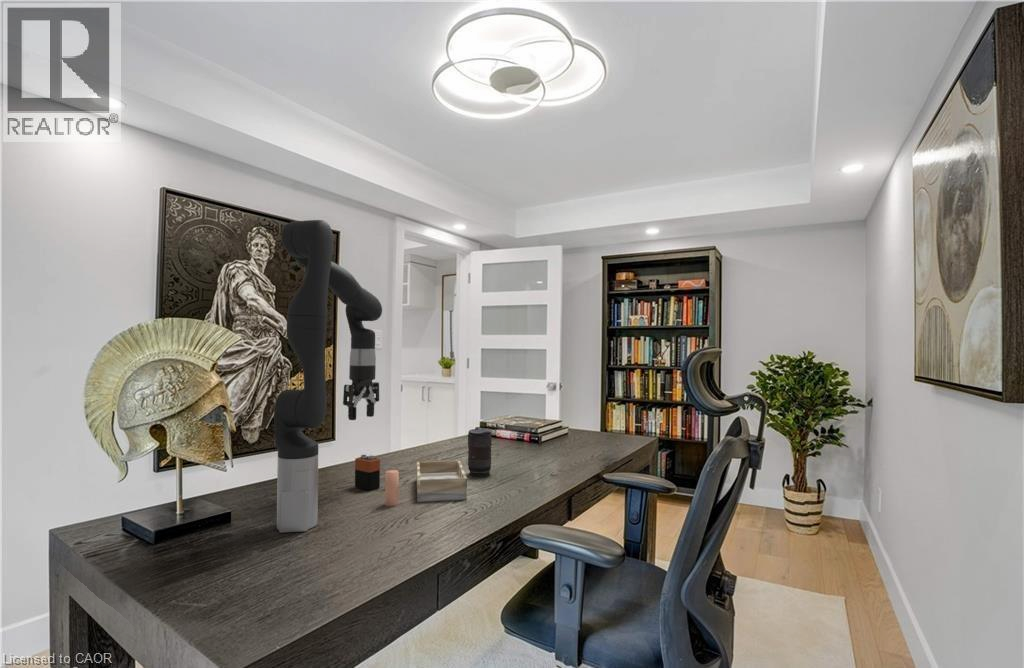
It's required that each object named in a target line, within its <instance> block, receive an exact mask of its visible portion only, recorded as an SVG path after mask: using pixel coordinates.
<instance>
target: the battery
mask: <svg viewBox="0 0 1024 668" xmlns="http://www.w3.org/2000/svg"><path fill="white" fill-rule="evenodd" d="M380 469H381V459H380V458H378V457H376V456H375V455H368V456H367V454H361V455H360V457H357V458H355V459H354V487H355V488H356V489H360V490H364V491H368V492H370V491H373V490H376V489H380V487H381V485H380V483H381V476H380V475H381V473H380V472H381V470H380Z"/></svg>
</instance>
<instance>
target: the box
mask: <svg viewBox="0 0 1024 668" xmlns="http://www.w3.org/2000/svg"><path fill="white" fill-rule="evenodd" d="M467 492H468V477H467V476H466V472H465V470H464V466H463V464H462V461H461V460H441V461H440V460H436V461H435V460H434V461H433V460H432V461H416V497H417V498H416V500H417V501H416V502H417V503H420V502H423V503H424V502H440V501H457V500H459V501H460V500H467V499H468V495H467V494H468V493H467Z"/></svg>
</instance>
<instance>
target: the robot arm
mask: <svg viewBox="0 0 1024 668" xmlns="http://www.w3.org/2000/svg"><path fill="white" fill-rule="evenodd" d="M280 238H281V243H282V245H283V248H284V250H285V251H286V253H288V255H290V256H291V258H293V259H294V260H295V261H296V262H298V263H300V265H302V266H303V267H304V268H306V273H305V276H304V279H303V281H302V283H301V284H300V286H299V287H298V289H297V290H296V292H295V294H294V295H293V297H292V298H291V301H290V303H289V305H288V308H287V313H286V330H285V331H286V332H285V333H286V337H287V341H288V343H289V346H290V347H291V349H292V351H293V353H294V354H295V356H296V358H297V360H298V362H299V364H300V367H301V369H302V374H303V389H296V388H295V389H292V388H291V389H285V390H284V389H283V390H282V391H281V392H280V393H279V394H278V395H277V397H276V399H275V402H274V408H273V422H274V423H273V425H274V443H275V447H276V449H277V471H276V472H277V475H276V476H277V477H276V479H277V480H276V481H277V482H276V483H277V485H276V529H277V530H278V531H279V533H281V534H282V533H294V532H296V533H297V532H307V531H309V530H310V529H312V528H314V527H316V526H317V525H318V516H319V515H318V507H319V506H318V501H319V499H318V498H319V497H318V496H319V495H318V493H319V492H318V491H319V443H318V442H317V441H315V440H314V439H312V438H311V437H309V436H308V435H306V434H305V433H304V432H303V430H302V428H304V429H316V428H319V427H320V426H322V424H323V422H324V421H325V419H326V414H327V413H326V412H327V386H326V385H327V384H326V383H327V381H326V344H327V343H326V341H327V327H328V326H327V325H328V299H329V298H328V296H329V295H328V294H329V289H330V290H331V291H332V292H333V294H334V295H335V296H336V297H337V298H338V300H339V301H340V302H341V303H342V304H344V305H345V316H346V320H347V323H348V328H349V332H350V353H349V376H348V378H349V380H350V381H351V384H343V385H344V386H343V398H342V399H343V400H342V405H343V406H346V407H347V409H348V413H347V418H348V420H349V421H356V419H357V405H358V404H359V402H360V401H361V399H365V401H366V417H368V418H369V417H370V418H373V417H374V416H375V405H376V403H378V402H380V383H379V382H377V381H374V380H376V370H377V369H376V368H377V367H376V362H377V361H376V359H377V357H376V356H377V355H376V333H375V330H372V329H369V328H365V326H364V323H363V322H374V321H377V320H379V319H380V318H381V316H382V313H383V307H382V304H381V301H380V300H379V299H378V298H377V296H375V295H374V294H373V293H372V292H370V291H368V290H367V289H366V288H363V287H362V286H361V284H360V282H358V281H357V279H356V278H355V277H354V275H352V274H351V272H349V271H348V270H347V269H346V268H345V267H342V266H341V265H339V264H338V263H336V262H334V261H333V253H334V233H333V230H332V227H331V225H330V224H329V223H328V222H327V221H326V220H322V219H313V220H312V219H309V220H296V221H295V220H294V221H290V222H288V223H286V224H285V225H284V226H283V228H282V230H281V234H280Z"/></svg>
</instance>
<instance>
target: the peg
mask: <svg viewBox="0 0 1024 668" xmlns="http://www.w3.org/2000/svg"><path fill="white" fill-rule="evenodd" d="M384 474H385V475H384V476H385V479H384V483H385V486H384V489H385V490H384V492H385V493H384V505H385V507H396V506H398V505H399V486H400V485H399V482H400V481H399V480H400V479H399V470H395V469H390V470H386V471H385V473H384Z"/></svg>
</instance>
